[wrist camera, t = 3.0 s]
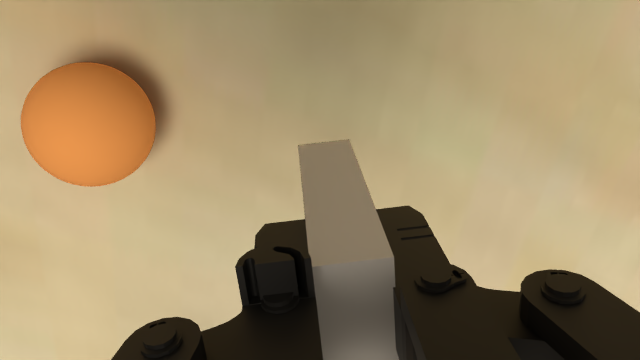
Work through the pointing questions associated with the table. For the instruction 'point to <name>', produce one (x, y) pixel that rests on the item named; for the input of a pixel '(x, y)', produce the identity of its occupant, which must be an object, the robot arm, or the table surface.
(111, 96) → the ball
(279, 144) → the table surface
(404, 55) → the table surface
